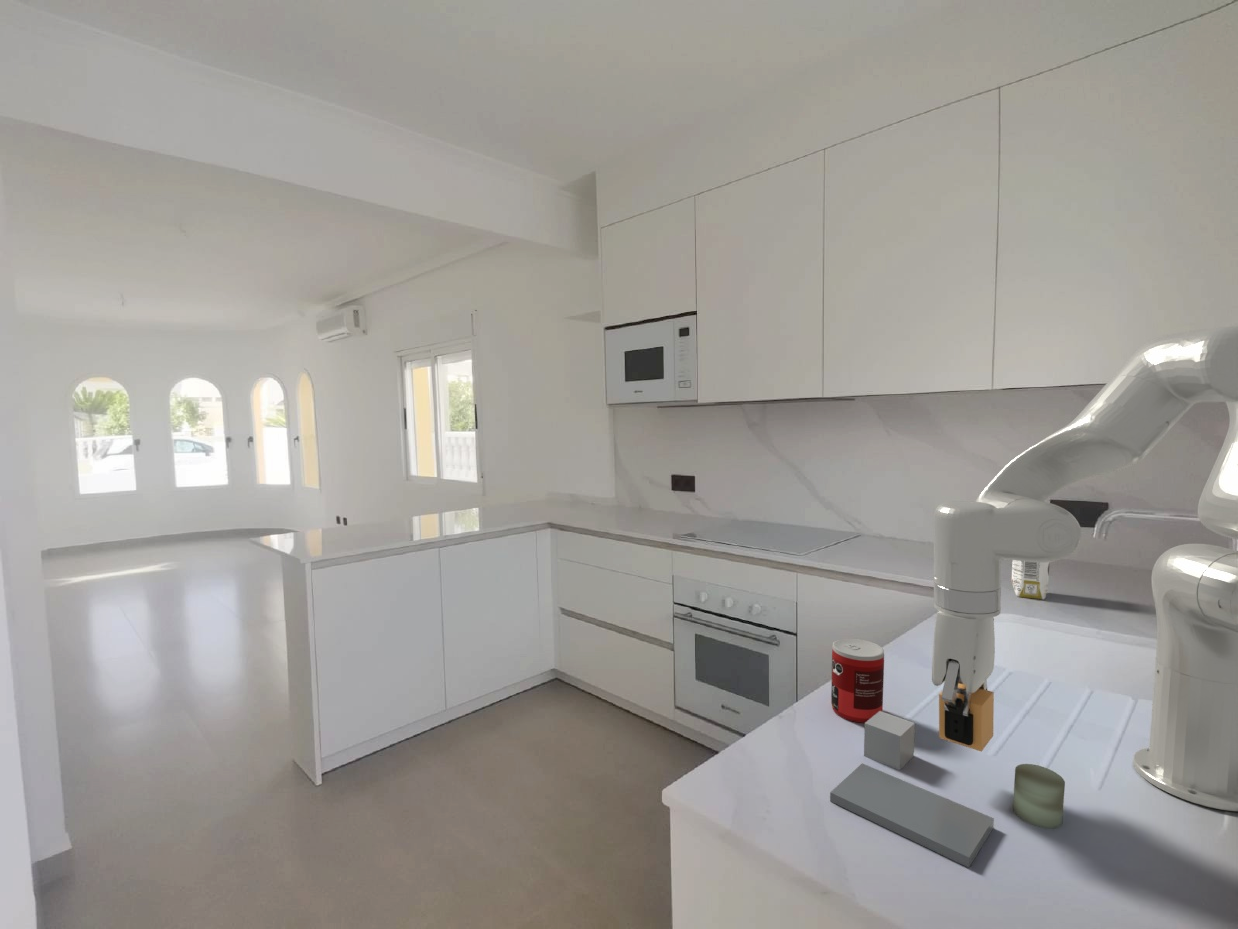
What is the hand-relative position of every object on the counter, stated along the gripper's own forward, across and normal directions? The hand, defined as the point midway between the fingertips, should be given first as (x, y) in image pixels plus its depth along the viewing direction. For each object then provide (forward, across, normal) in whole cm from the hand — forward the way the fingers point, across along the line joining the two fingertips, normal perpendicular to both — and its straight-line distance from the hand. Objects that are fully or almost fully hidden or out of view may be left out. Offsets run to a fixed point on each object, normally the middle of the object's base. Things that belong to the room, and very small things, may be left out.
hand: (966, 730), depth 81 cm
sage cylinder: (+8, +1, +8) cm, 11 cm away
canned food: (+7, -8, -19) cm, 22 cm away
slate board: (+7, +12, -3) cm, 14 cm away
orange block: (+1, 0, 0) cm, 1 cm away
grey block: (+7, +1, -10) cm, 12 cm away
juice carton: (+10, -99, -15) cm, 101 cm away
